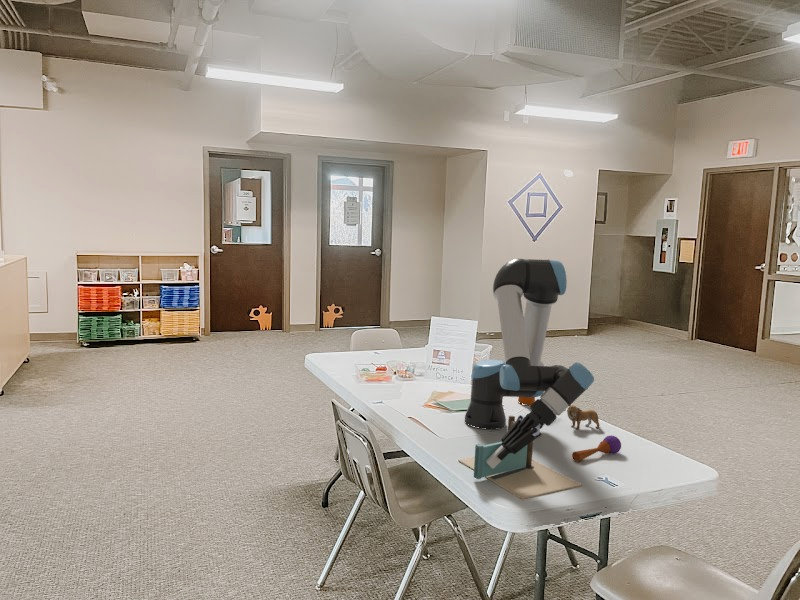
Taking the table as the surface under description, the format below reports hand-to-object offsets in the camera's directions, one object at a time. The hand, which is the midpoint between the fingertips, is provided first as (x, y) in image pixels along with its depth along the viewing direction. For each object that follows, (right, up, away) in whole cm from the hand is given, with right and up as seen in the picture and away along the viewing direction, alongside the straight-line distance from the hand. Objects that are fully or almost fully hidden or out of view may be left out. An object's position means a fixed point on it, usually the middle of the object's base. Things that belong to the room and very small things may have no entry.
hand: (489, 465), depth 181 cm
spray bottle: (+26, +4, +84) cm, 88 cm away
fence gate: (+4, -3, +6) cm, 8 cm away
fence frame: (+12, -3, +20) cm, 24 cm away
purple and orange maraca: (+38, -4, +25) cm, 46 cm away
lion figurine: (+42, -1, +54) cm, 69 cm away
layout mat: (+10, -4, +8) cm, 13 cm away
